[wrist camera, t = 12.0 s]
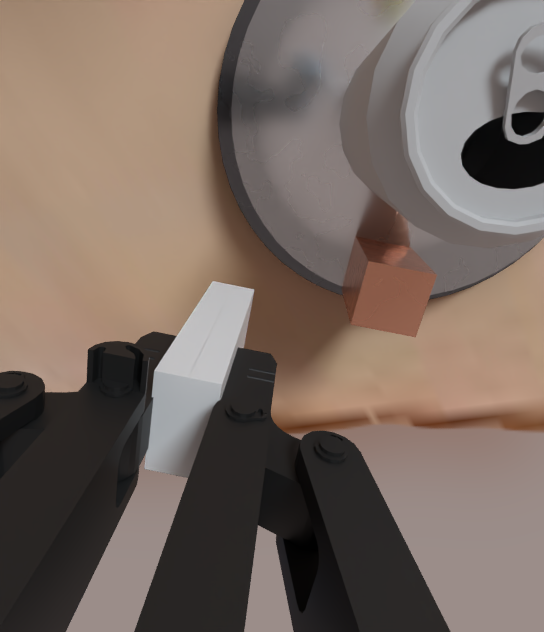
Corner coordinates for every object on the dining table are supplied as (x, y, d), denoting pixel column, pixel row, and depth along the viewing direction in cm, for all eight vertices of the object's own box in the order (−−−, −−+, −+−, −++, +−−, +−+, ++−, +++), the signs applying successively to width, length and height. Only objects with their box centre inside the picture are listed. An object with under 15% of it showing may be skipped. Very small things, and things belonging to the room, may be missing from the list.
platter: (213, 255, 26) (187, 292, 20) (270, -146, 19) (256, -271, 13) (513, 315, 26) (576, 369, 20) (674, -59, 20) (839, -143, 14)
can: (337, 203, 23) (370, 267, 12) (338, 35, 20) (383, -83, 9) (487, 197, 23) (665, 259, 12) (509, 23, 20) (774, -117, 9)
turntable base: (199, 261, 28) (195, 267, 27) (254, -160, 20) (252, -177, 19) (512, 323, 28) (521, 331, 27) (681, -68, 21) (703, -80, 20)
